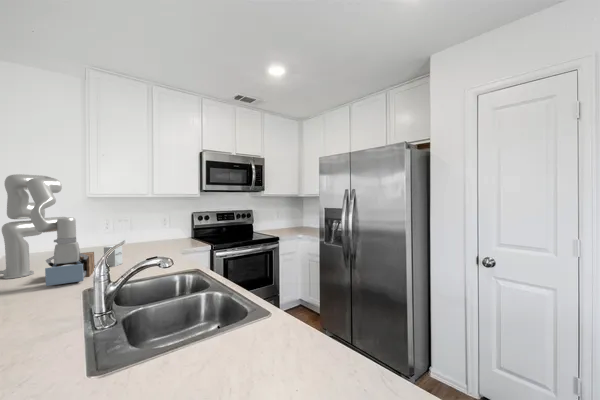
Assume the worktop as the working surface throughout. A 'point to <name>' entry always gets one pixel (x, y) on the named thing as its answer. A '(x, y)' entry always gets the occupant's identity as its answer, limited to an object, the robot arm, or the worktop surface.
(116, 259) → the supplement box
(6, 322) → the worktop surface
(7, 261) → the robot arm
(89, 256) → the tan storage bin
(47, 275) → the tray
